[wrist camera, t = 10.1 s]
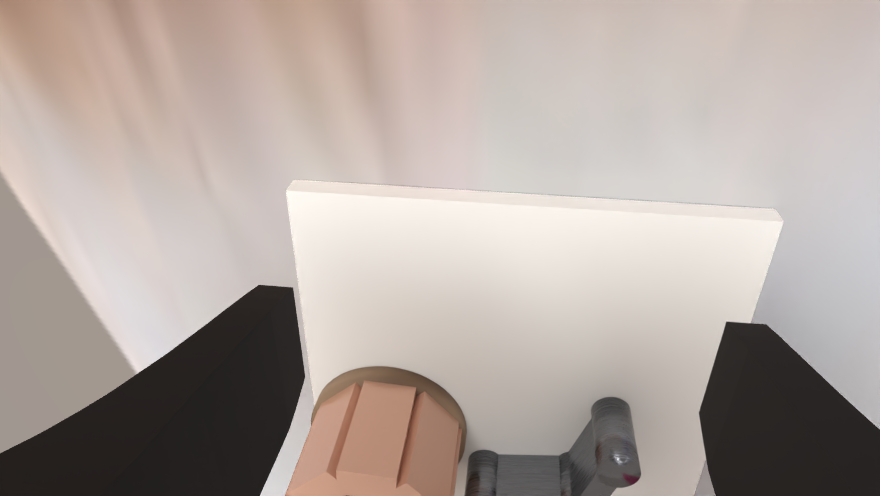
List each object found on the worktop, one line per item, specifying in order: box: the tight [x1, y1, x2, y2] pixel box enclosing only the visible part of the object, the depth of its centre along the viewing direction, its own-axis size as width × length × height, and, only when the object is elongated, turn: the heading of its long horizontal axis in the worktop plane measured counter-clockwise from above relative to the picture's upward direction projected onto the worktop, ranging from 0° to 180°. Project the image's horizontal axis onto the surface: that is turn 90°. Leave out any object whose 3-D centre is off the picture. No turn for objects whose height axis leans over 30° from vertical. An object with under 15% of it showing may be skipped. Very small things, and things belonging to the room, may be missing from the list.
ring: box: [285, 381, 462, 496], centre depth 23 cm, size 6×6×4 cm
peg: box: [311, 366, 467, 496], centre depth 23 cm, size 6×6×5 cm
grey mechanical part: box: [464, 397, 641, 496], centre depth 24 cm, size 6×5×3 cm
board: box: [286, 180, 784, 496], centre depth 24 cm, size 15×16×1 cm
